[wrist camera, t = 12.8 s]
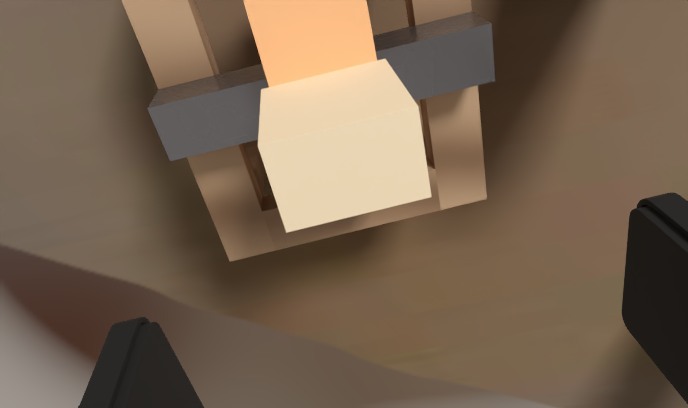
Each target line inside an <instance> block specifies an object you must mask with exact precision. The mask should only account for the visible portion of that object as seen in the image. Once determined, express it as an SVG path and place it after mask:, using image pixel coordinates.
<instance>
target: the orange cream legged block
mask: <svg viewBox="0 0 688 408" xmlns="http://www.w3.org/2000/svg"><path fill="white" fill-rule="evenodd" d="M244 5H245V8H246V11H247V15H248V18H249V21H250V25H251V28H252V32H253V35H254V38H255V42H256V45H257V48H258V52H259V55H260V58H261V62H262V65H263V68H264V72H265V75H266V78H267V82H268V85H269V87H268V88H264V89H261V99H260V116H259V134H258V148H259V151H260V155H261V158H262V161H263V164H264V167H265V170H266V173H267V176H268V179H269V182H270V185H271V188H272V191H273V194H274V197H275V200H276V203H277V206H278V209H279V212H280V215H281V218H282V221H283V224H284V227H285V230H286V233H287V232H291V231H295V230H299V229H304V228H308V227H312V226H316V225H320V224H324V223H328V222H332V221H336V220H340V219H344V218H348V217H352V216H357V215H361V214H365V213H369V212H373V211H377V210H381V209H385V208H389V207H393V206H397V205H401V204H405V203H410V202H414V201H418V200H422V199H426V198H430V197H432V196H431V189H430V182H429V175H428V169H427V162H426V155H425V148H424V141H423V134H422V127H421V120H420V114H419V107H418V105H417V104H416V102H415V101H414V99H413V98H412V96H411V95H410V94H409V92H408V91H407V89H406V88H405V86H404V85H403V83H402V82H401V81H400V79H399V78H398V76H397V75H396V73H395V72H394V70H393V69H392V68H391V66H390V65H389V63H388V62H387V60H386V59H381V60H377V57H376V51H375V46H374V40H373V35H372V29H371V23H370V18H369V12H368V7H367V1H366V0H244Z"/></svg>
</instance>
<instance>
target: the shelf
mask: <svg viewBox="0 0 688 408" xmlns="http://www.w3.org/2000/svg"><path fill="white" fill-rule="evenodd" d="M405 1H406V8H407V15H408V22H409V27H411V26H415V25H419V24H423V23H427V22H431V21H435V20H439V19H443V18H447V17H451V16H455V15H459V14H463V13H467V12H472V8H471V0H405ZM122 3H123V5H124V7H125V10H126V12H127V15H128V17H129V19H130V22H131V24H132V27H133V29H134V32H135V34H136V36H137V39H138V41H139V44H140V46H141V48H142V51H143V53H144V56H145V58H146V60H147V63H148V65H149V68H150V70H151V73H152V75H153V77H154V80H155V82H156V85H157V87H158V89H161V88H165V87H169V86H173V85H177V84H181V83H186V82H190V81H194V80H198V79H202V78H206V77H210V76H214V75H218V74H220V72H219V69H218V67H217V64H216V61H215V58H214V55H213V52H212V49H211V46H210V43H209V40H208V37H207V35H206V32H205V29H204V26H203V23H202V20H201V17H200V14H199V11H198V8H197V6H196V3H195V0H122ZM415 102H416V104H417V105H418V107H419V114H420V120H421V127H422V134H423V141H424V148H425V155H426V162H427V169H428V175H429V182H430V189H431V196H432V197H430V198H426V199H422V200H418V201H414V202H410V203H405V204H401V205H397V206H393V207H389V208H385V209H381V210H377V211H373V212H369V213H365V214H361V215H357V216H352V217H348V218H344V219H340V220H336V221H332V222H328V223H324V224H320V225H316V226H312V227H308V228H304V229H299V230H295V231H291V232H287V233H286V230H285V227H284V224H283V221H282V218H281V215H280V212H279V209H278V206H277V203H276V200H275V197H274V194H273V195H269V196H265V197H264V191H265V167H264V164H263V161H262V158H261V155H260V151H259V148H258V140H255V141H251V142H247V143H242V144H238V145H234V146H230V147H226V148H222V149H218V150H214V151H210V152H206V153H202V154H198V155H194V156H190V157H187V159H188V162H189V164H190V167H191V169H192V171H193V174H194V176H195V179H196V181H197V184H198V186H199V188H200V191H201V193H202V196H203V198H204V200H205V203H206V205H207V208H208V210H209V212H210V215H211V217H212V220H213V222H214V225H215V227H216V229H217V232H218V234H219V237H220V239H221V241H222V244H223V246H224V249H225V251H226V254H227V256H228V258H229V261H230V262H231V261H235V260H239V259H243V258H247V257H251V256H256V255H260V254H264V253H268V252H272V251H276V250H280V249H284V248H288V247H292V246H296V245H300V244H304V243H309V242H313V241H317V240H321V239H325V238H329V237H333V236H337V235H341V234H345V233H349V232H353V231H357V230H362V229H366V228H370V227H374V226H378V225H382V224H386V223H390V222H394V221H398V220H402V219H406V218H410V217H415V216H419V215H423V214H427V213H431V212H435V211H439V210H443V209H447V208H451V207H455V206H459V205H463V204H468V203H472V202H476V201H480V200H484V199H487V193H486V181H485V169H484V156H483V144H482V132H481V119H480V107H479V94H478V85H477V86H473V87H469V88H465V89H461V90H457V91H453V92H449V93H445V94H441V95H437V96H433V97H429V98H425V99H421V100H417V101H415Z"/></svg>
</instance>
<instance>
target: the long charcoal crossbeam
mask: <svg viewBox="0 0 688 408" xmlns="http://www.w3.org/2000/svg"><path fill="white" fill-rule="evenodd" d="M373 40H374V46H375V51H376V57H377V60H381V59H386V60H387V62H388V63H389V65H390V66H391V68H392V69H393V70H394V72H395V73H396V75H397V76H398V78H399V79H400V81H401V82H402V83H403V85H404V86H405V88H406V89H407V91H408V92H409V94H410V95H411V96H412V98H413V99H414V101H417V100H421V99H425V98H429V97H433V96H437V95H441V94H445V93H449V92H453V91H457V90H461V89H465V88H469V87H473V86H477V85H481V84H485V83H489V82H493V81H495V69H494V53H493V37H492V23H491V22H489V21H487V20H486V19H484V18H482V17H480V16H479V15H477V14H475V13H474V12H467V13H463V14H459V15H455V16H451V17H447V18H443V19H439V20H435V21H431V22H427V23H423V24H419V25H415V26H411V27H407V28H403V29H399V30H395V31H391V32H387V33H383V34H379V35H375V36H373ZM268 87H269V85H268V82H267V78H266V75H265V72H264V68H263V65H262V64H258V65H254V66H250V67H246V68H242V69H238V70H234V71H230V72H226V73H222V74H218V75H214V76H210V77H206V78H202V79H198V80H194V81H190V82H186V83H181V84H177V85H173V86H169V87H165V88H161V89H158V91H157V92H156V94H155V96H154V98H153V99H152V101H151V103H150V104H149V106H148V108H147V109H148V112H149V114H150V116H151V118H152V121H153V123H154V125H155V128H156V130H157V132H158V135H159V137H160V139H161V141H162V144H163V146H164V148H165V151H166V153H167V155H168V158H169V160H170V161H174V160H178V159H182V158H186V157H190V156H194V155H198V154H202V153H206V152H210V151H214V150H218V149H222V148H226V147H230V146H234V145H238V144H242V143H247V142H251V141H255V140H258V134H259V116H260V99H261V89H264V88H268Z"/></svg>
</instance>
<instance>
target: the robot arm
mask: <svg viewBox="0 0 688 408" xmlns="http://www.w3.org/2000/svg"><path fill="white" fill-rule="evenodd" d="M622 317H623V320H624V323H625V325H626V327H627V329H628V330H629V332H630V333H631V334H632V335H633V337H634V338H635V339H636V340H637V342H638V343H639V344H640V345H641V347H642V348H643V349H644V350H645V352H646V353H647V354H648V355H649V357H650V358H651V359H652V360H653V362H654V363H655V364H656V365H657V367H658V368H659V369H660V370H661V372H662V373H663V374H664V375H665V376H666V378H667V379H668V380H669V381H670V383H671V384H672V385H673V386H674V388H675V389H676V390H677V391H678V393H679V394H680V395H681V396H682V398H683V399H684V400H685V401H686V403H687V404H688V201H686V200H685V199H684V198H682V197H681V196H680V195H678V194H676V193H667V194H663V195H658V196H654V197H650V198H646V199H642V200H640V201H639V203H638V204H637V208H636V209H633V210H632V211H631V212H630V216H629V229H628V241H627V253H626V266H625V278H624V290H623V303H622ZM78 408H204V407H203V405H202V403H201V401H200V399H199V397H198V396H197V394H196V392H195V390H194V388H193V386H192V385H191V383H190V381H189V379H188V377H187V375H186V373H185V371H184V370H183V368H182V366H181V364H180V362H179V360H178V359H177V357H176V355H175V353H174V351H173V349H172V347H171V346H170V344H169V342H168V340H167V338H166V337H165V334H164V333H163V331H162V329H161V327H160V326H159V324H158V323H156V322H152V323H150V322H149V321H148V319H147V318H145V317H141V318H136V319H132V320H128V321H123V322H119V323H115V324H114V325H112V327H111V329H110V331H109V333H108V336H107V338H106V341H105V344H104V346H103V348H102V351H101V353H100V356H99V358H98V361H97V363H96V366H95V369H94V371H93V373H92V376H91V378H90V381H89V383H88V386H87V388H86V391H85V393H84V396H83V398H82V401H81V403H80V405H79V406H78Z"/></svg>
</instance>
